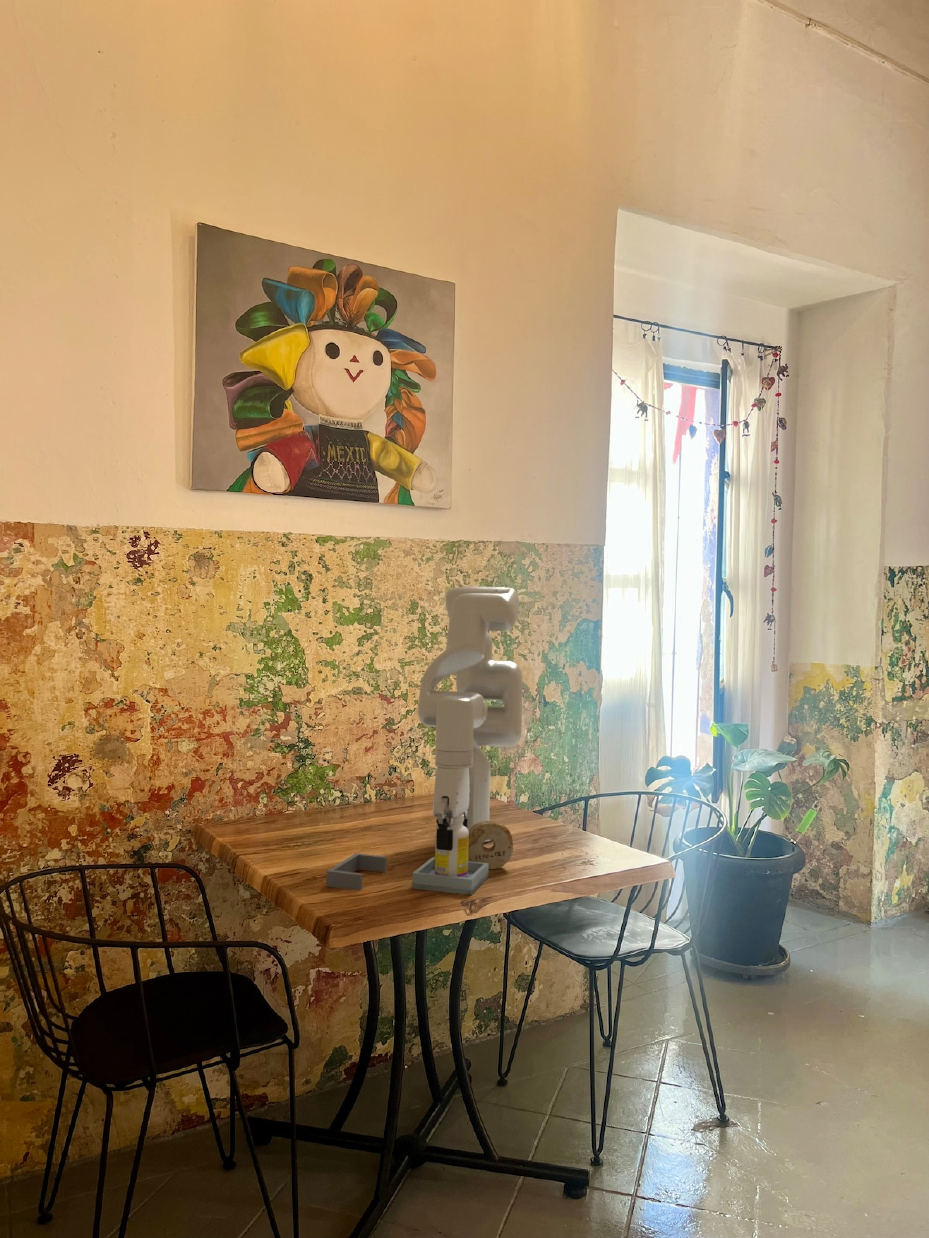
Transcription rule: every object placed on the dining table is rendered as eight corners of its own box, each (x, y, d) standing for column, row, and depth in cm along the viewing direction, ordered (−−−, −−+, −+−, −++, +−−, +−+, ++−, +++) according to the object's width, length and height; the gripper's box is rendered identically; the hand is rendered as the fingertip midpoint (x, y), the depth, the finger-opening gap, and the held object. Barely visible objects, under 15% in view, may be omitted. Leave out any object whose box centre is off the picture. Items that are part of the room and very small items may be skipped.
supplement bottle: (467, 873, 186) (469, 810, 186) (468, 883, 180) (470, 818, 179) (434, 872, 186) (436, 809, 186) (434, 882, 179) (435, 817, 179)
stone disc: (510, 865, 196) (512, 819, 196) (513, 870, 193) (514, 823, 193) (462, 865, 196) (463, 818, 196) (463, 870, 192) (465, 822, 192)
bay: (355, 867, 192) (356, 852, 192) (386, 870, 190) (387, 856, 190) (326, 886, 179) (327, 871, 179) (359, 890, 177) (360, 874, 177)
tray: (432, 871, 190) (432, 857, 190) (488, 877, 187) (488, 863, 187) (412, 888, 179) (412, 872, 179) (471, 895, 175) (471, 879, 175)
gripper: (449, 750, 192) (447, 831, 192) (421, 763, 175) (419, 852, 176) (483, 752, 190) (481, 835, 190) (459, 766, 173) (456, 856, 174)
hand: (452, 843), depth 183 cm, fingers open, 9 cm apart
